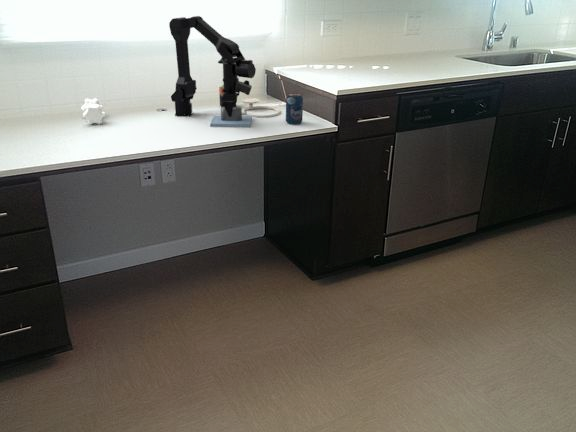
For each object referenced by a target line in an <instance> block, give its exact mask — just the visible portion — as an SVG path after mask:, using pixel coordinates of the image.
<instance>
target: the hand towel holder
mask: <svg viewBox="0 0 576 432" xmlns="http://www.w3.org/2000/svg"><path fill="white" fill-rule="evenodd" d="M241 102H242V103H244V104H249V106H248V107H246V108H244V109H243V110H242V113H246V112H247V111H249V110H250V111H251V110H259V109H266V110H273V111H276V112H275V113H274V114H268V115H267V114H264V115H263V114H262V115H261V114H259V115H257V114H250V113H247V116H252V118H262V119H263V118H272V117H277V116H279V115H280V114H281V111H280V109H279V108H276V107H273V106H264V105H263V106H261V105H259V106H258V105H257V106H253V105H254V104H257V103H259V102H260V99H259V98H254V97H253V98H249V97H248V98H243V99H241Z"/></svg>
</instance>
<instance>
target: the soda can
mask: <svg viewBox="0 0 576 432" xmlns="http://www.w3.org/2000/svg"><path fill="white" fill-rule="evenodd" d="M303 108H304V98H303V95H302V93H299V92H290V93H288V94H287V95H286V98H285V122H286V124H288V125H290V124H292V126H299V125H301V124H302V122H303V110H304V109H303Z"/></svg>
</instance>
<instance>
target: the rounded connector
mask: <svg viewBox="0 0 576 432" xmlns="http://www.w3.org/2000/svg"><path fill="white" fill-rule="evenodd" d="M242 109H243V108H242V107H241V106H236V107H233V111H232V117H229V116H228V114H227V111H226V109H225V107H221V106H220V116H221V120H222V121H241V120H242V116H247V114H248V112H245V113H242V111H243V110H242Z"/></svg>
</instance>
